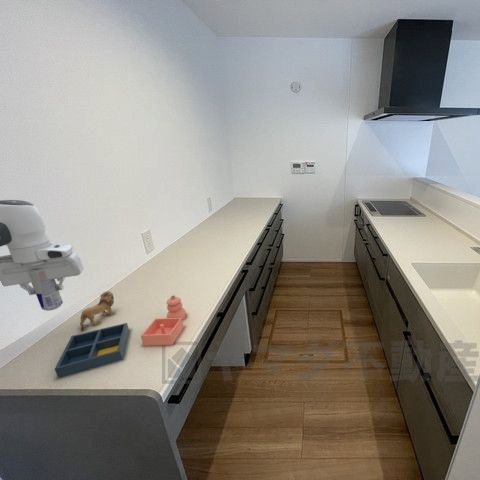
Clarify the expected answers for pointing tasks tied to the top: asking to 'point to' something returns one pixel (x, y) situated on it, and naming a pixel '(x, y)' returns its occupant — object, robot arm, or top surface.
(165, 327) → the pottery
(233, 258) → the top surface
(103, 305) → the lion figurine
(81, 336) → the grid
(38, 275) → the beverage can
